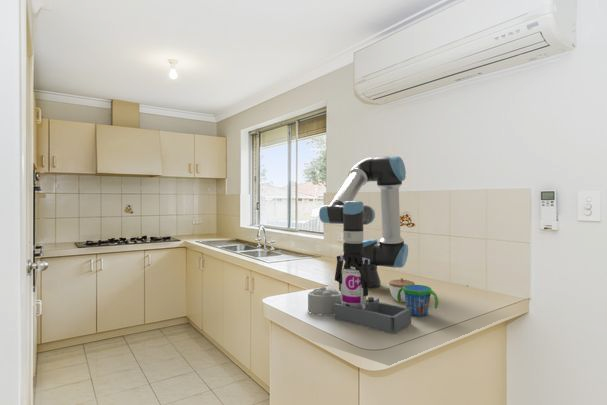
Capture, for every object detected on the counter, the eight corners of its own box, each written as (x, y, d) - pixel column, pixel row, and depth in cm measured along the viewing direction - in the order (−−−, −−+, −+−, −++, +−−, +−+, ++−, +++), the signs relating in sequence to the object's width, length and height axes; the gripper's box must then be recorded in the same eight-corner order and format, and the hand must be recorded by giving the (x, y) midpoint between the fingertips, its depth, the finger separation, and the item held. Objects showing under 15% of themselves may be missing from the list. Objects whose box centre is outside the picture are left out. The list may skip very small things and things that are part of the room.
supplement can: (363, 312, 134) (363, 271, 134) (341, 310, 136) (341, 270, 136) (364, 305, 142) (364, 267, 142) (343, 304, 144) (343, 266, 144)
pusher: (361, 320, 131) (361, 300, 131) (375, 313, 139) (375, 294, 139) (366, 321, 130) (366, 301, 130) (380, 314, 137) (380, 295, 137)
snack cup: (392, 312, 145) (392, 286, 144) (406, 306, 152) (406, 281, 152) (429, 321, 133) (429, 293, 133) (442, 315, 141) (443, 288, 141)
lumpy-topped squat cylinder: (343, 314, 143) (343, 291, 143) (310, 316, 140) (310, 293, 140) (336, 306, 153) (336, 285, 153) (305, 307, 151) (305, 286, 151)
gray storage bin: (334, 318, 137) (334, 304, 137) (353, 310, 147) (353, 296, 147) (394, 334, 121) (394, 317, 121) (410, 323, 131) (411, 308, 131)
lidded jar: (415, 297, 165) (415, 276, 165) (414, 304, 155) (414, 282, 155) (390, 295, 169) (390, 275, 168) (388, 302, 158) (388, 280, 158)
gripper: (325, 240, 143) (324, 299, 143) (372, 245, 129) (372, 310, 129) (336, 239, 148) (336, 295, 149) (383, 243, 135) (383, 305, 135)
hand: (353, 302), depth 139 cm, fingers closed on supplement can, 8 cm apart
